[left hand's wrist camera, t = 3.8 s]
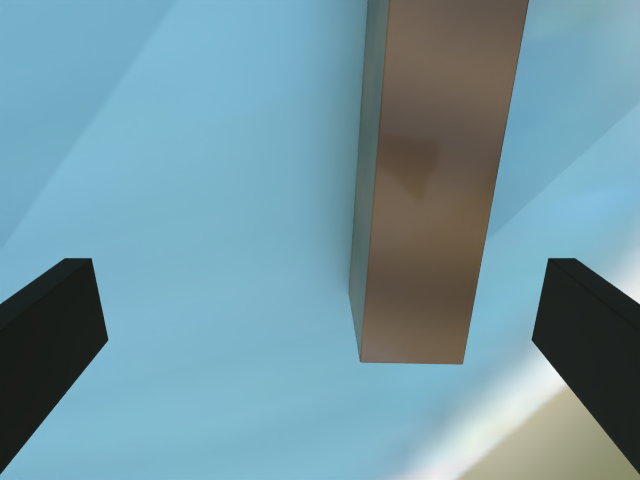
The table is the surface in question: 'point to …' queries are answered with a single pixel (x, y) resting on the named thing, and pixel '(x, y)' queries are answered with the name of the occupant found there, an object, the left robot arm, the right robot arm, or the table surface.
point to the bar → (428, 170)
